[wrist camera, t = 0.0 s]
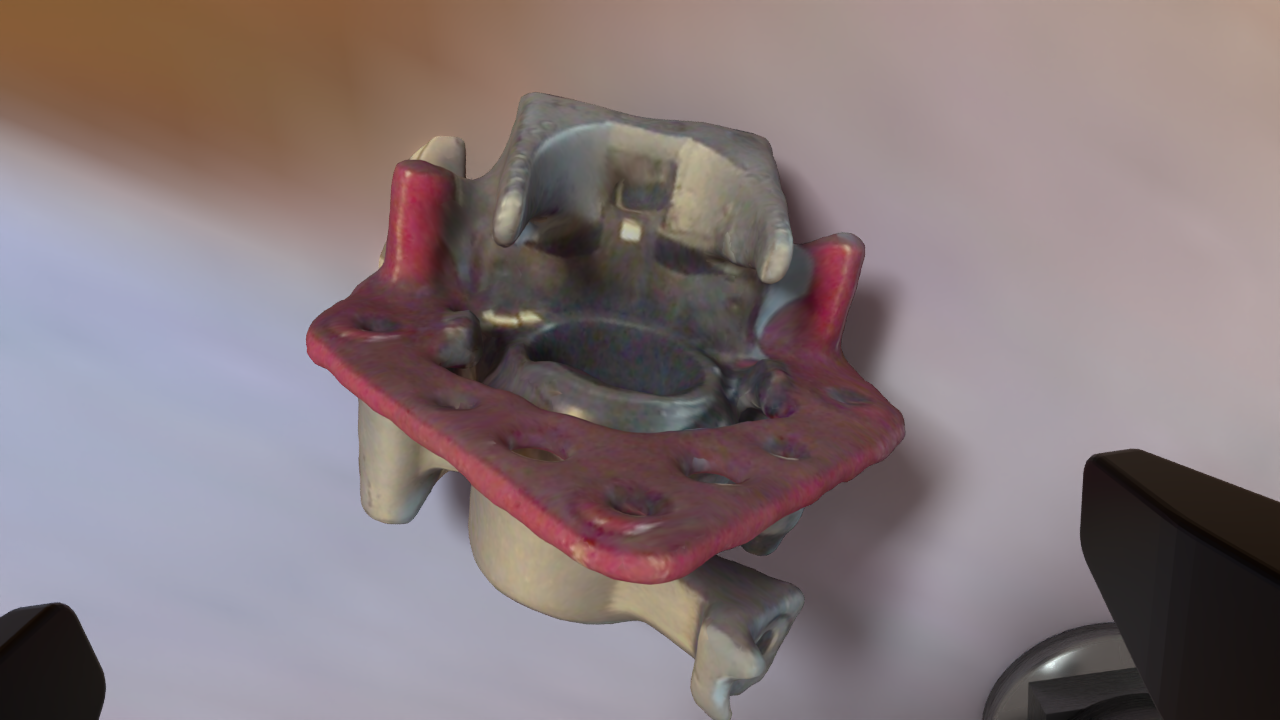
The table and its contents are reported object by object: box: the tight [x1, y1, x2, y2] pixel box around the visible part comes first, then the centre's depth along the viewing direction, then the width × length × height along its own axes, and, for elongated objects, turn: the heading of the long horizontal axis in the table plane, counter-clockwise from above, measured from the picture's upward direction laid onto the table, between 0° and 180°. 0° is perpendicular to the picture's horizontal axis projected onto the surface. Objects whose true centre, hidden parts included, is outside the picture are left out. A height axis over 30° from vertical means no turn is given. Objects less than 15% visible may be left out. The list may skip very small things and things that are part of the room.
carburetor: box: [306, 92, 905, 720], centre depth 20 cm, size 11×11×12 cm
